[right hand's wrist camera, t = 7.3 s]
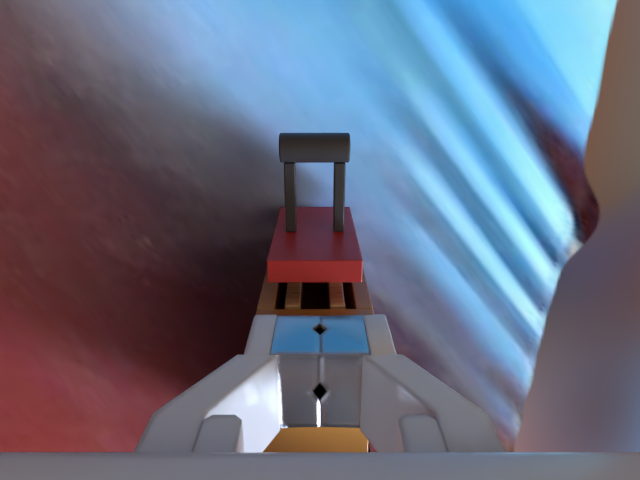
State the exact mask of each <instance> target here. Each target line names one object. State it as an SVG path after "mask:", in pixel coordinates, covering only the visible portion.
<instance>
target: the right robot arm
mask: <svg viewBox="0 0 640 480" xmlns="http://www.w3.org/2000/svg"><path fill="white" fill-rule="evenodd" d="M297 427H343V428H360V431H361V432H362V433H363V434H364V436H365V437H366V438H367V439H368V441H369V442H370V443H371V444H372V446H373V447H374V448H375V449H376V451H377V452H263V451H264V450H265V449H266V447H267V446H268V445H269V444H270V442H271V441H272V440H273V439H274V437H275V436H276V435H277V434H278V432H279V431H280V428H297ZM0 480H640V452H506V451H505V449H504V447H503V445H502V443H501V440H500V438H499V436H498V434H497V432H496V430H495V428H494V426H493V424H492V422H491V420H490V418H489V416H488V414H487V413H486V412H484V411H483V410H482V409H480V408H479V407H477V406H476V405H474V404H473V403H472V402H470V401H469V400H467V399H466V398H464V397H463V396H461V395H460V394H459V393H457V392H456V391H454V390H453V389H451V388H450V387H449V386H447V385H446V384H444V383H443V382H441V381H440V380H438V379H437V378H436V377H434V376H433V375H431V374H430V373H428V372H427V371H425V370H424V369H423V368H421V367H420V366H418V365H417V364H415V363H414V362H413V361H411V360H410V359H408V358H407V357H405V356H404V355H396V351H395V347H394V344H393V340H392V337H391V333H390V329H389V326H388V322H387V319H386V316H385V315H384V314H378V315H339V316H315V315H276V314H271V315H255V316H254V318H253V322H252V325H251V329H250V333H249V336H248V340H247V344H246V347H245V351H244V355H236V356H235V357H233V358H232V359H230V360H229V361H227V362H226V363H225V364H223V365H222V366H220V367H219V368H217V369H216V370H214V371H213V372H212V373H210V374H209V375H207V376H206V377H204V378H203V379H201V380H200V381H199V382H197V383H196V384H194V385H193V386H191V387H190V388H188V389H187V390H186V391H184V392H183V393H181V394H180V395H178V396H177V397H175V398H174V399H173V400H171V401H170V402H168V403H167V404H165V405H164V406H162V407H161V408H160V409H158V410H157V411H155V412H154V413H153V414H152V416H151V418H150V420H149V422H148V424H147V426H146V428H145V431H144V433H143V435H142V437H141V439H140V441H139V443H138V445H137V447H136V449H135V451H134V452H0Z"/></svg>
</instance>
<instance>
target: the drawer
mask: <svg viewBox="0 0 640 480" xmlns="http://www.w3.org/2000/svg"><path fill="white" fill-rule="evenodd" d="M279 158H280V162H285V163H284V185H285V207H281V208H280V211H279V215H278V219H277V223H276V227H275V231H274V235H273V238H272V242H271V246H270V250H269V254H268V258H267V280H268V282H269V283H270V282H288V284H287V291H286V299H285V309H345V300H344V292H343V284H342V282H362V270H363V260H362V256H361V252H360V248H359V244H358V239H357V235H356V231H355V227H354V223H353V219H352V215H351V211H350V207H344V206H345V162H349V160H350V134H349V133H280V135H279ZM295 162H334V197H333V207H296V163H295Z"/></svg>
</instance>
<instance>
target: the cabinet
mask: <svg viewBox="0 0 640 480" xmlns="http://www.w3.org/2000/svg"><path fill="white" fill-rule="evenodd" d="M287 284H288V282H270V283H269V282H268V280H267V269H266V273H265V278H264V282H263V286H262V290H261V294H260V298H259V302H258V306H257V311H256V315H271V314H276V315H315V316H339V315H374V312H373V307H372V303H371V299H370V294H369V290H368V286H367V282H366V278H365V274H364V269H363V270H362V282H342V284H343V292H344V300H345V309H285V299H286V291H287ZM368 443H369V441H368V439H367V438H366V437H365V436H364V434H363V433H362V432H361V431H360V428H343V427H297V428H280V431H279V432H278V434H277V435H276V436H275V437H274V439H273V440H272V441H271V442H270V444H269V445H268V446H267V447H266V449H265V450H264V451H263V452H368Z"/></svg>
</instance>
